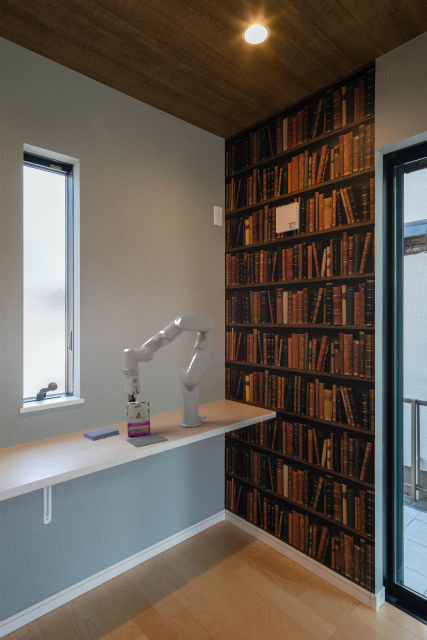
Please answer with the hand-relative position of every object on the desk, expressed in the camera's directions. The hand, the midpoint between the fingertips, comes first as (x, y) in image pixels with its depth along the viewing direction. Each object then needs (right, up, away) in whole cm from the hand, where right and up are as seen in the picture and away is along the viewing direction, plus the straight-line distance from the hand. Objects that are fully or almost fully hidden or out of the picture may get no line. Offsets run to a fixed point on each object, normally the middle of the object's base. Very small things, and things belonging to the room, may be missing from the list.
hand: (132, 407), depth 192 cm
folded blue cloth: (-15, -14, -4) cm, 21 cm away
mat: (+10, -12, -15) cm, 22 cm away
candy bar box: (+5, -12, -7) cm, 15 cm away
